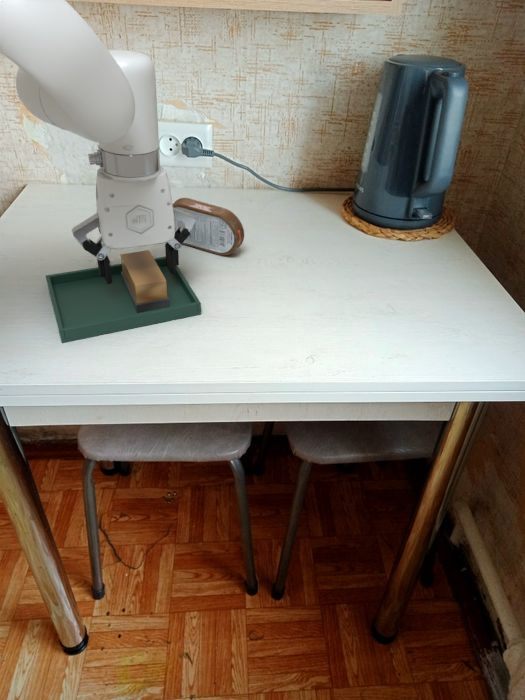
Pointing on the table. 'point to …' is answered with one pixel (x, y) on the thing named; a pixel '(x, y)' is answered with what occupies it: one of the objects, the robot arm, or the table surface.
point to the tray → (112, 302)
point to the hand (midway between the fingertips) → (140, 274)
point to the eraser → (144, 281)
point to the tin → (211, 227)
